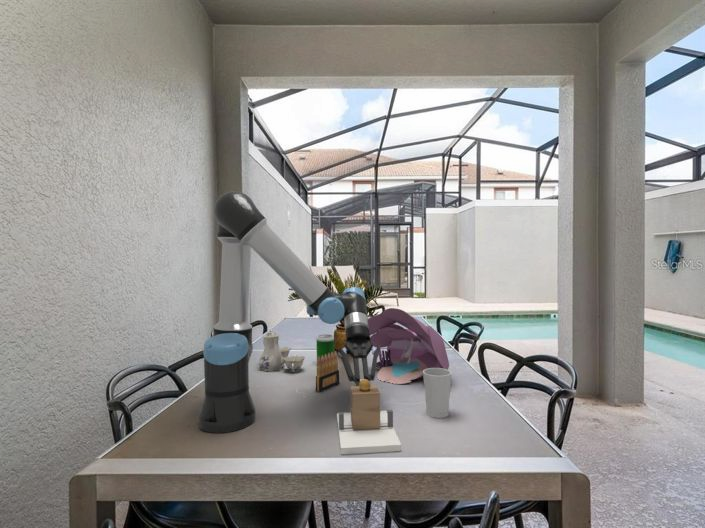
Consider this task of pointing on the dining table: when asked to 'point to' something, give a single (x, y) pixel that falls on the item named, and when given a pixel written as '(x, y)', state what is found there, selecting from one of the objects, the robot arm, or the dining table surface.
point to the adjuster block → (365, 406)
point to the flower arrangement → (405, 346)
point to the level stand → (367, 435)
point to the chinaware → (277, 355)
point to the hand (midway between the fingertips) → (364, 403)
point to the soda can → (325, 345)
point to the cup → (437, 391)
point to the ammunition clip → (327, 372)
